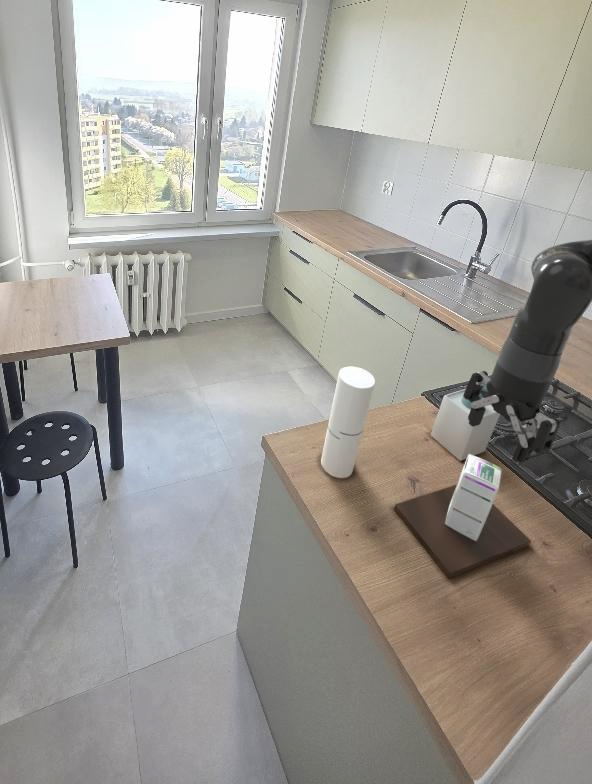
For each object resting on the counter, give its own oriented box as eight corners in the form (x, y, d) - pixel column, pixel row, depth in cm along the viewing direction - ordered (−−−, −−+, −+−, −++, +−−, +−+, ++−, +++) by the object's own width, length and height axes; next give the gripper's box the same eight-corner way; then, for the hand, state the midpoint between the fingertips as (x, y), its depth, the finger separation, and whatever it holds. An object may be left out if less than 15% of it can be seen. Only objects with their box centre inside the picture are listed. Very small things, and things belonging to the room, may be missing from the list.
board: (467, 485, 92) (468, 480, 92) (528, 546, 80) (531, 541, 80) (393, 509, 86) (395, 504, 86) (448, 578, 74) (450, 573, 74)
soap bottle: (460, 462, 98) (485, 398, 90) (430, 435, 106) (450, 374, 98) (485, 452, 101) (512, 389, 93) (454, 426, 109) (476, 366, 101)
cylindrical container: (350, 482, 92) (373, 392, 82) (318, 470, 94) (336, 381, 84) (354, 459, 98) (376, 372, 88) (324, 448, 100) (341, 362, 90)
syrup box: (477, 542, 79) (501, 489, 73) (442, 524, 82) (464, 471, 76) (480, 520, 83) (504, 468, 77) (448, 503, 86) (468, 451, 80)
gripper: (589, 389, 63) (550, 468, 69) (501, 339, 75) (475, 410, 81) (554, 399, 60) (517, 479, 67) (470, 345, 73) (445, 418, 79)
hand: (494, 441), depth 74 cm, fingers open, 8 cm apart
